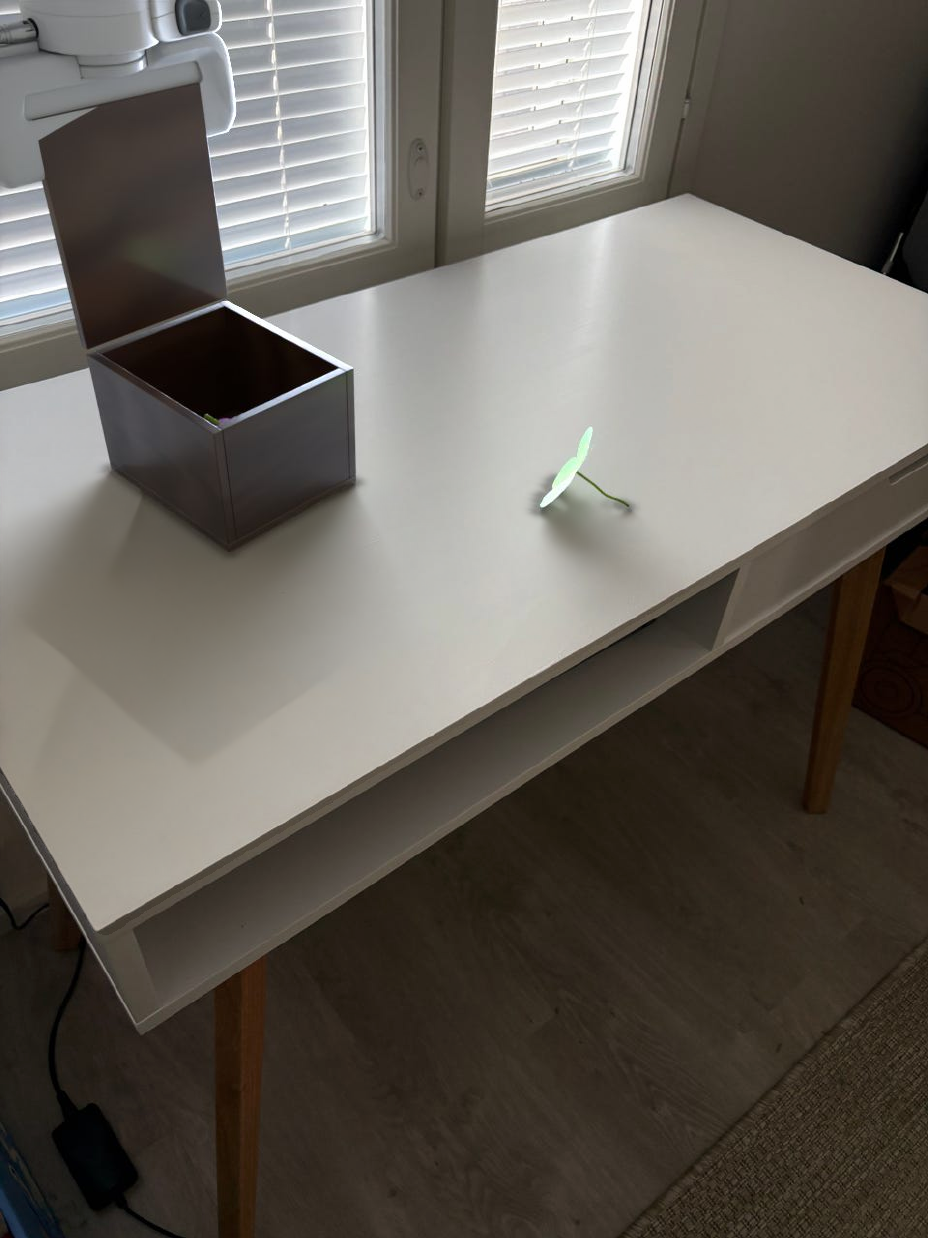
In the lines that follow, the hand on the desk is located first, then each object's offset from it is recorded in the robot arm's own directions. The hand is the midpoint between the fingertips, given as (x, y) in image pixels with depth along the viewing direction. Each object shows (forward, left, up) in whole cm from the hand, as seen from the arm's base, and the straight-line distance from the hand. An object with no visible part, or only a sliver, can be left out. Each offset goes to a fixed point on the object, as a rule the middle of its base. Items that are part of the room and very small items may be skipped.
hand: (125, 216), depth 77 cm
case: (0, -10, -19) cm, 21 cm away
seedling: (+18, -33, -19) cm, 42 cm away
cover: (0, -2, 0) cm, 2 cm away
